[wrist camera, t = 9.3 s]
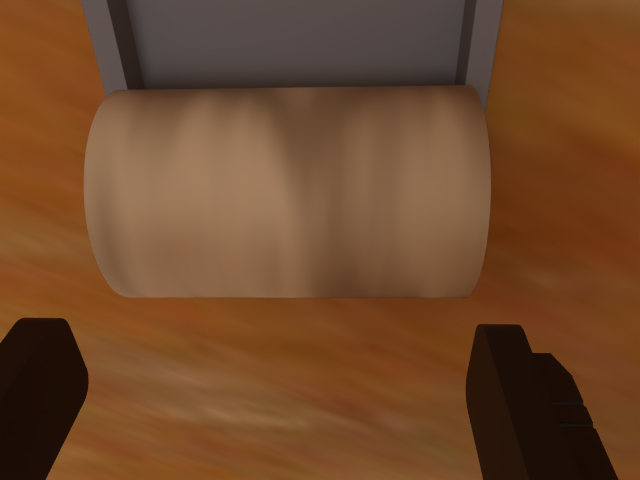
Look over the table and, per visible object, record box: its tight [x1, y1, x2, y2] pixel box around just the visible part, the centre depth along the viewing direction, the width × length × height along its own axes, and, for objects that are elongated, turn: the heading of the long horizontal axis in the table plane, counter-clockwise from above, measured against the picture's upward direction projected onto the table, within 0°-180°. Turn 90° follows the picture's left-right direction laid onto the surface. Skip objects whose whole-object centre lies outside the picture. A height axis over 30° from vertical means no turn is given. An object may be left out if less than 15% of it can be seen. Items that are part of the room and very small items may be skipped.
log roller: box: [84, 85, 491, 298], centre depth 18 cm, size 11×7×7 cm, turn 91°
